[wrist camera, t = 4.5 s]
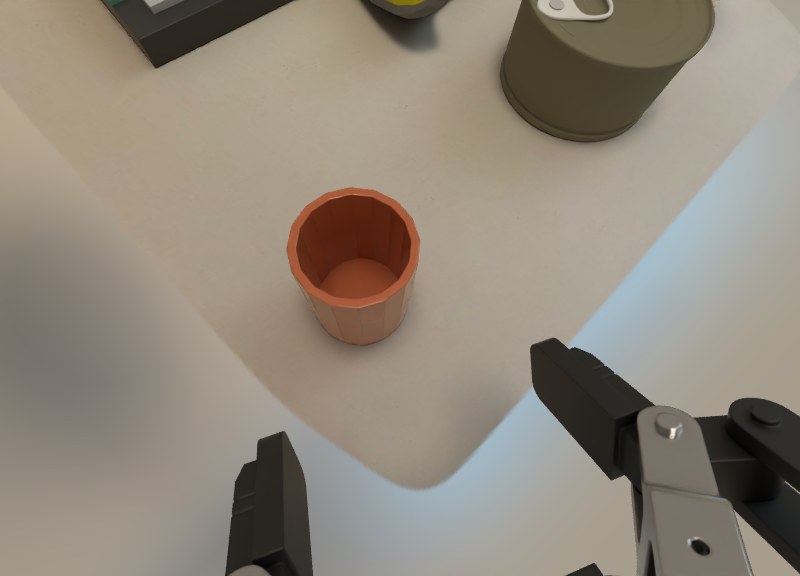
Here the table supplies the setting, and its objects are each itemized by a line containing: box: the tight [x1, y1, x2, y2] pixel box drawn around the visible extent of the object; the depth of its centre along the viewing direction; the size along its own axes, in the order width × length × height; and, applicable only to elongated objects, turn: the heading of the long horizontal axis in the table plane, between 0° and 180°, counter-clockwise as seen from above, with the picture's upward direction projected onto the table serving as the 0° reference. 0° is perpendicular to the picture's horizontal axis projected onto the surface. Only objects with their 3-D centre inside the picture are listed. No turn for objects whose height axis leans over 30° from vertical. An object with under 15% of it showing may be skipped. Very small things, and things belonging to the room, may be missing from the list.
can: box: [501, 0, 715, 142], centre depth 29 cm, size 12×12×7 cm
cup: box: [287, 188, 420, 345], centre depth 22 cm, size 6×6×8 cm
